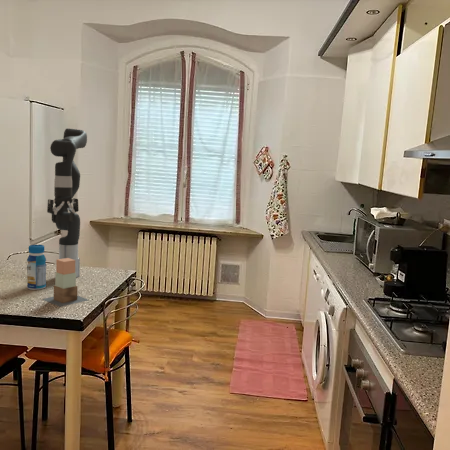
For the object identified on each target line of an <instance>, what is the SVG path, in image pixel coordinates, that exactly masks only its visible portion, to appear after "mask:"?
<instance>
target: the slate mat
mask: <svg viewBox="0 0 450 450" xmlns="http://www.w3.org/2000/svg"><path fill="white" fill-rule="evenodd" d="M42 300H43V301H44V302H48V303H50V304H52V305H55V306H57V307H59V308H62V307H65V306H70V305H75V304H79V303H82V302H87V301H89V299H88V298H85V297H83V296H79V295H77V300H74V301H70V302H66V303H61V302H59V301H56V300H54V296H50V297H46V298H42Z"/></svg>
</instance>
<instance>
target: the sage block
mask: <svg viewBox="0 0 450 450" xmlns="http://www.w3.org/2000/svg"><path fill="white" fill-rule="evenodd" d="M54 280H55V281H54V282H55V283H54V286H57V287H60V288H63V289H65V288H70V287H75V286H77V277H76V273H70V274H65V275H63V274H60V273H57V272H55V276H54Z"/></svg>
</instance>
